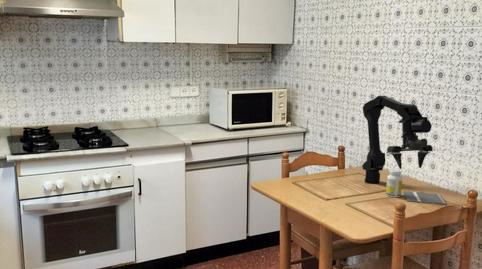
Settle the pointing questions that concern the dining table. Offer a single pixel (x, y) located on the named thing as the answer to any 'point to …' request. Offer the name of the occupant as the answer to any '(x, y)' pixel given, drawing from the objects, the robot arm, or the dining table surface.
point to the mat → (424, 197)
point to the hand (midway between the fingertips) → (410, 168)
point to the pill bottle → (394, 183)
